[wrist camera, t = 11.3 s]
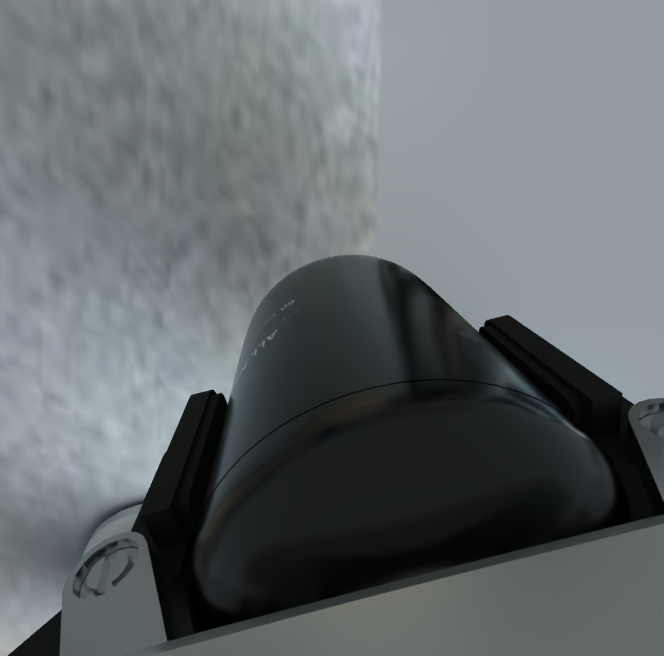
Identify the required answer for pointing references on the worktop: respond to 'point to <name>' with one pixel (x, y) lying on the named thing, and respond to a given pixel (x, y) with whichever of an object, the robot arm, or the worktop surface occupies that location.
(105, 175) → the worktop surface
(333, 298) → the supplement bottle
